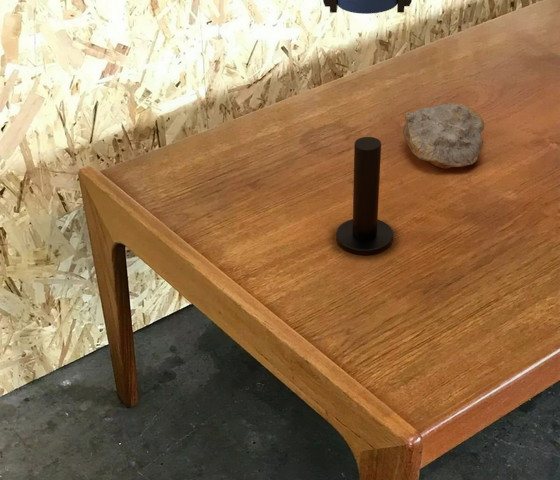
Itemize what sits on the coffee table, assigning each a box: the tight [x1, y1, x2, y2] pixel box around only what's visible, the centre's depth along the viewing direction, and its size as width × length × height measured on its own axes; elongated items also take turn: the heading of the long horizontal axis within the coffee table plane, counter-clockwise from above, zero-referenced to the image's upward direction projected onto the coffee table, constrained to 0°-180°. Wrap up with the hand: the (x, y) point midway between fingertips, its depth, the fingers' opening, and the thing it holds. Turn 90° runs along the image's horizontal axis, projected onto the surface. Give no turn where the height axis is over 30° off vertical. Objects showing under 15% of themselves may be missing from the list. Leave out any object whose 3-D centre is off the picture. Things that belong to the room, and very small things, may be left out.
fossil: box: [402, 102, 485, 169], centre depth 110 cm, size 12×8×10 cm
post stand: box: [335, 136, 394, 256], centre depth 94 cm, size 7×7×13 cm
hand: (367, 9), depth 81 cm, fingers closed on disc, 6 cm apart
